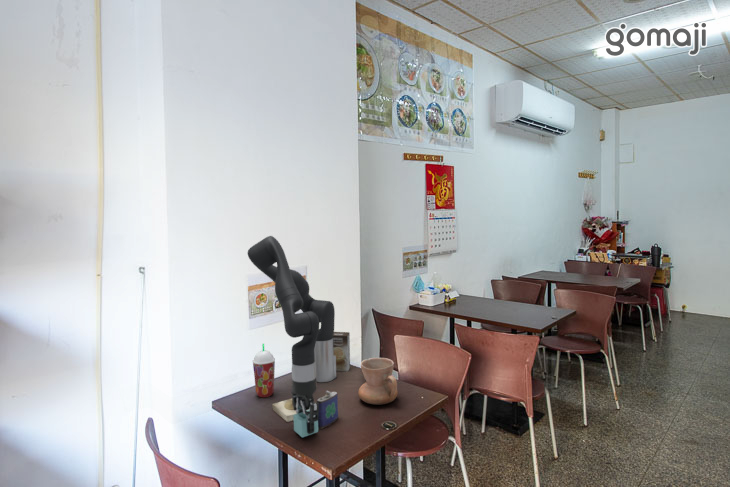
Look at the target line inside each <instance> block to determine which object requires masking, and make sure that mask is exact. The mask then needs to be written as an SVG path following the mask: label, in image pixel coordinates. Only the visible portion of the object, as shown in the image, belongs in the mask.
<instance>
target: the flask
mask: <svg viewBox="0 0 730 487" xmlns="http://www.w3.org/2000/svg"><path fill="white" fill-rule="evenodd" d="M338 399H339V398H338V392H336V391H329V390H325V394H324V396H322V397H319V398H317V400H316V403H319V415H318V429H319V430H321V429H324V428H328V427H329V426H331V425H332V424H333V423H335V422H336V421H338V419H339V408H338V405H339V404H338V402H339V401H338Z"/></svg>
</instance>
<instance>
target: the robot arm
mask: <svg viewBox="0 0 730 487" xmlns="http://www.w3.org/2000/svg"><path fill="white" fill-rule="evenodd" d="M247 256H248V259H249V260H250V261H251V263H252V264H253V265H254V266H255V267H256V268H257V269H258V270H259V271H261V272H262V273H263V274H264V275H265V276H267V277H268V278H269V279H270V280H271V281H272V282H273V283H274V292H275V296H276V298H277V300H278V303H279V305H280V307H281V309H282V316H283V323H284V324H283V325H284V330H285V333H286V334H287V335H288V336H289V337H290V338H299V337H302V339H301V340H300V341H298V342H296V343H294V344H293V345H292V347H291V398H292V400H293V408H294V410H296V414H298V413H301V412H303V413H304V415H305V416H306V420H307V433H308V434H311V433H313V432H314V422H315V421H318V415H319V403H317V402H315V399H314V393H316V392H317V389H318V388H317V383H327V382H328V383H329V382H331V381H332V380H334V379H336V378H337V371H336V356H335V355H334V347H333V333H334V332H335V318H336V317H335V316H336V315H335V313H336V312H335V305H334V303H333V302H332V301H330V300H320V299H315V298H313V296H311V295H310V285H309V282H308V281H307V279H305V277H304V276H303V275H302V274H301V273H300V272H298V271H296V270H294V269H291V268H290V266H289V262H288V260H287V257H286V254H285V250H284V249H283V247H282V245H281V243H280V242H279V241H278V240H277V238H276V237H274V236H273V235H269V236H266V237H264V238H263V239H262V240H260V241H258V242H257V243H255V244H253V245H252V246H251V247H250V248H249V249H248V250H247ZM274 264H276V265H274ZM299 311H302V312H300V313H297V312H299ZM308 409H310V411H306V410H308ZM309 414H310V416H309ZM313 434H314V433H313ZM311 435H312V434H311Z"/></svg>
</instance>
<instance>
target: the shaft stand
mask: <svg viewBox="0 0 730 487" xmlns="http://www.w3.org/2000/svg"><path fill="white" fill-rule="evenodd" d="M272 410H273V411H274V412H275V413H276V414H277V415H278V416H280V417H281V418H282V419H283V420H284V421H285V422H287V423H289V422H294V417H293V415H295V414H296V410H294V408H293V400H292V397H291V398H288V399H285V400H282V401H279V402H275V403H272ZM308 410H310V409H308ZM306 411H307V410H306Z"/></svg>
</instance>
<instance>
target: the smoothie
mask: <svg viewBox="0 0 730 487" xmlns="http://www.w3.org/2000/svg"><path fill="white" fill-rule="evenodd" d="M261 346H262V350H260V351H258V352H257V353H256V354H255V356H254V358H253V360H252V365H253V366H252V368H253V376H254V384H255V385H254V386H255V393H256V395H257V396H258V398H268V397H271V396H273V394H274V391H275V363H276V362H275V360H276V358H275V357H274V355H273V353H271V352H270V351H268V350H265V343H262V345H261Z"/></svg>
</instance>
